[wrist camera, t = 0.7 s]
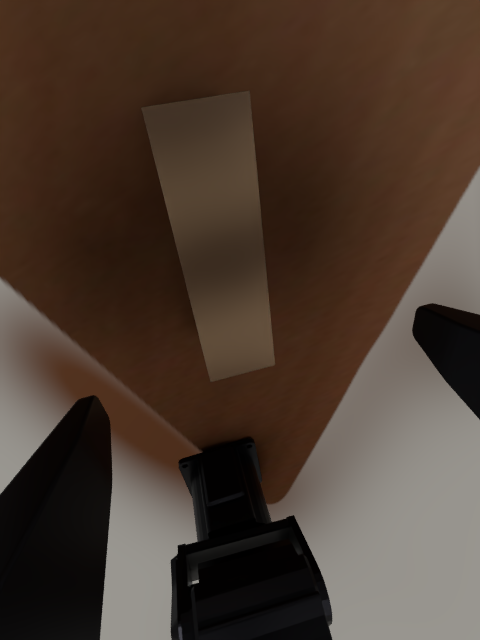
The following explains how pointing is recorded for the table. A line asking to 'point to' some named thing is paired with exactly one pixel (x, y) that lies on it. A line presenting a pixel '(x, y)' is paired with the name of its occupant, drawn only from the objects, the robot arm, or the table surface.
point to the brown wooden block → (216, 225)
